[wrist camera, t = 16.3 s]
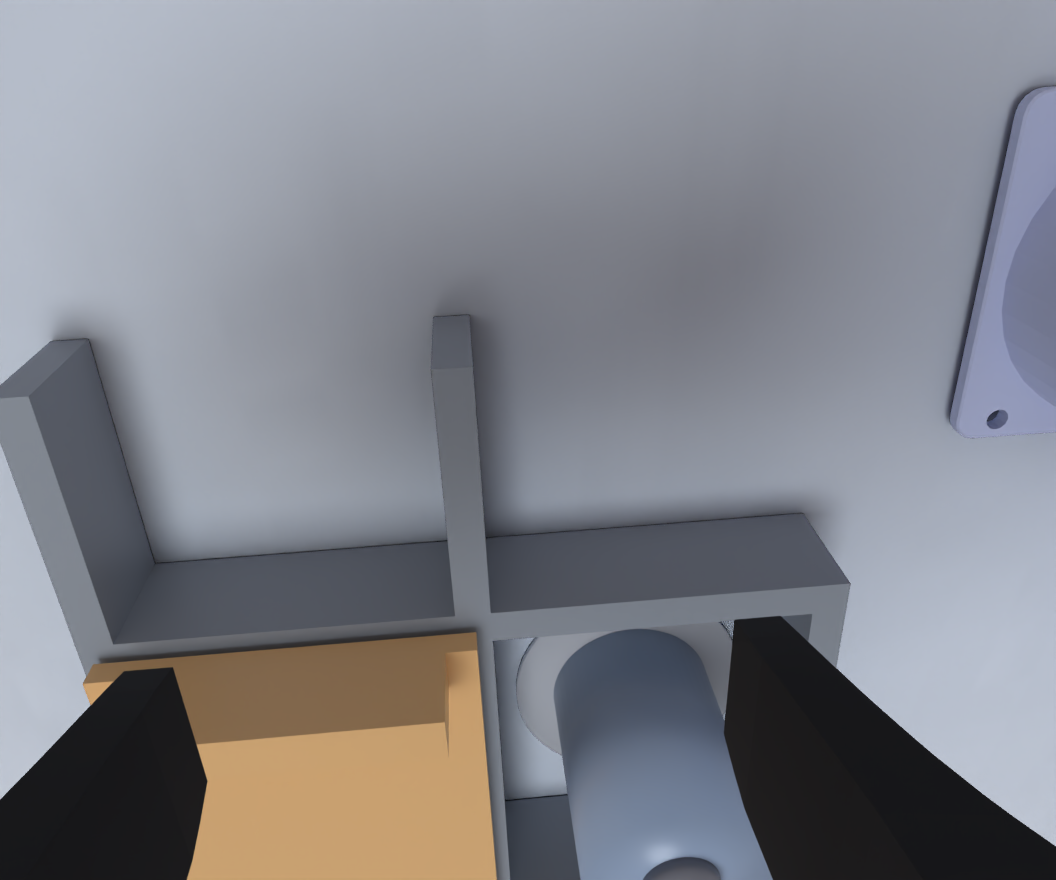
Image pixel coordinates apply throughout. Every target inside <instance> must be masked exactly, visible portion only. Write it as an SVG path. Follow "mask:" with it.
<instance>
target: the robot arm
mask: <svg viewBox="0 0 1056 880" xmlns="http://www.w3.org/2000/svg"><path fill="white" fill-rule="evenodd" d="M997 410H999V412H998V414H997V416H996V417H995V418H994V419H993V420H991V421H988V422H987V419H988V417H989V415H990V414H991V413H993V412H994V411H997ZM950 424H951V426H952V427H953V429H954V430H955V431H957V432H958V433H959V434H960V435H962V436H963V437H966V438H982V437H996V436H1009V435H1023V434H1036V433H1050V432H1056V86H1054V87H1042V88H1038V89H1034V90H1033V91H1032V92H1030V93H1029V94H1027V95H1026V96H1025V97H1024V98H1023V100H1022V101H1021V102H1020V103H1019V105H1018V108H1017V110H1016V113H1015V116H1014V121H1013V126H1012V130H1011V135H1010V140H1009V144H1008V149H1007V154H1006V158H1005V163H1004V168H1003V172H1002V177H1001V181H1000V186H999V191H998V195H997V200H996V205H995V209H994V214H993V219H992V223H991V228H990V233H989V237H988V242H987V247H986V251H985V256H984V261H983V265H982V270H981V275H980V279H979V284H978V289H977V293H976V298H975V302H974V307H973V312H972V316H971V321H970V326H969V330H968V335H967V340H966V344H965V349H964V354H963V358H962V363H961V368H960V372H959V377H958V382H957V386H956V391H955V396H954V400H953V405H952V410H951V414H950ZM724 737H725V740H726V744H727V748H728V752H729V755H730V759H731V763H732V767H733V770H734V774H735V778H736V781H737V785H738V788H739V792H740V795H741V798H742V802H743V805H744V809H745V811H746V814H747V816H748V819H749V821H750V824H751V827H752V829H753V832H754V834H755V837H756V839H757V842H758V844H759V847H760V849H761V851H762V854H763V856H764V859H765V861H766V864H767V866H768V869H769V871H770V874H771V876H772V879H773V880H1056V846H1054V845H1053V844H1051V843H1050V842H1049V841H1047V840H1046V839H1044V838H1043V837H1041V836H1040V835H1039V834H1037V833H1036V832H1034V831H1033V830H1031V829H1030V828H1029V827H1027V826H1026V825H1024V824H1023V823H1021V822H1020V821H1019V820H1017V819H1016V818H1014V817H1013V816H1012V815H1010V814H1009V813H1007V812H1006V811H1005V810H1003V809H1002V808H1001V807H999V806H998V805H997V804H995V803H994V802H993V801H991V800H990V799H989V798H987V797H986V796H985V795H983V794H982V793H981V792H979V791H978V790H977V789H976V788H974V787H973V786H972V785H971V784H969V783H968V782H967V781H966V780H964V779H963V778H962V777H961V776H959V775H958V774H957V773H956V772H954V771H953V770H952V769H951V768H949V767H948V766H947V765H945V764H944V763H943V762H942V761H940V760H939V759H938V758H937V757H936V756H934V755H933V754H932V753H931V752H930V751H928V750H927V749H926V748H925V747H924V746H922V745H921V744H920V743H919V742H918V741H916V740H915V739H914V738H913V737H912V736H911V735H910V734H909V733H907V732H906V731H905V730H904V729H903V728H902V727H901V726H899V725H898V724H897V723H896V722H895V721H894V720H893V719H891V718H890V717H889V716H888V715H887V714H886V713H885V712H883V711H882V710H881V709H880V708H879V707H878V706H877V705H876V704H874V703H873V702H872V701H871V700H870V699H869V698H868V697H867V696H866V695H865V694H863V693H862V692H861V691H860V690H859V689H858V688H857V687H856V686H855V685H854V684H853V683H852V682H850V681H849V680H848V679H847V678H846V677H845V676H844V675H843V674H842V673H841V672H840V671H839V670H838V669H837V668H835V667H834V666H833V665H832V664H831V663H830V662H829V661H828V660H827V659H826V658H825V657H824V656H823V655H822V654H821V653H820V652H819V651H818V650H816V649H815V648H814V647H813V646H812V645H811V644H810V643H809V642H808V641H807V640H806V639H805V638H804V637H803V636H802V635H801V634H800V633H799V632H797V631H796V630H795V629H794V628H793V627H792V626H791V625H790V624H789V623H788V622H787V621H786V620H785V619H783V618H782V617H781V616H771V617H759V618H747V619H735V620H734V631H733V641H732V652H731V662H730V673H729V683H728V694H727V704H726V714H725V725H724ZM207 782H208V781H207V777H206V774H205V771H204V768H203V764H202V761H201V758H200V754H199V751H198V748H197V744H196V741H195V738H194V735H193V731H192V728H191V725H190V721H189V718H188V715H187V712H186V708H185V705H184V702H183V698H182V695H181V692H180V689H179V685H178V682H177V679H176V675H175V672H174V669H173V667H168V668H156V669H144V670H132V671H124V672H123V673H122V674H121V675H120V676H119V677H118V678H117V679H116V680H115V681H114V682H113V683H112V684H111V685H110V686H109V687H108V688H107V689H106V690H105V691H104V692H103V693H102V694H101V695H100V696H99V697H98V698H97V699H96V700H95V701H94V702H93V704H92V705H91V706H90V707H89V708H88V709H87V710H86V711H85V712H84V713H83V714H82V715H81V716H80V717H79V718H78V719H77V720H76V722H75V723H74V724H73V725H72V726H71V727H70V728H69V729H68V730H67V731H66V732H65V733H64V734H63V735H62V736H61V737H60V738H59V739H58V741H57V742H56V743H55V744H54V745H53V746H52V747H51V748H50V749H49V750H48V751H47V752H46V753H45V754H44V755H43V756H42V757H41V758H40V759H39V761H38V762H37V763H36V764H35V765H34V766H33V767H32V768H31V769H30V770H29V771H28V772H27V773H26V774H25V775H24V776H23V777H22V778H21V779H20V780H19V781H18V782H17V783H16V784H15V785H14V786H13V787H12V788H11V789H10V790H9V791H8V792H7V793H6V794H5V795H4V796H3V797H2V798H1V799H0V880H187V877H188V874H189V871H190V867H191V864H192V860H193V856H194V851H195V846H196V841H197V836H198V831H199V826H200V821H201V815H202V810H203V804H204V798H205V793H206V787H207Z"/></svg>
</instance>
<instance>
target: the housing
mask: <svg viewBox="0 0 1056 880" xmlns="http://www.w3.org/2000/svg"><path fill="white" fill-rule="evenodd" d="M431 376H432V386H433V396H434V406H435V416H436V427H437V437H438V447H439V457H440V467H441V478H442V488H443V498H444V508H445V518H446V529H447V539H448V541H443V542H430V543H417V544H404V545H391V546H378V547H366V548H353V549H340V550H327V551H314V552H301V553H289V554H276V555H263V556H250V557H237V558H224V559H212V560H199V561H186V562H173V563H160V564H155V563H154V560H153V557H152V553H151V550H150V546H149V543H148V540H147V536H146V533H145V529H144V526H143V523H142V519H141V516H140V513H139V509H138V506H137V502H136V499H135V496H134V492H133V489H132V485H131V482H130V479H129V475H128V472H127V468H126V465H125V462H124V458H123V455H122V452H121V448H120V445H119V441H118V438H117V435H116V431H115V428H114V424H113V421H112V418H111V414H110V411H109V408H108V404H107V401H106V397H105V394H104V391H103V387H102V384H101V380H100V377H99V374H98V370H97V367H96V364H95V360H94V357H93V353H92V350H91V347H90V343H89V340H88V339H80V340H65V341H50V342H49V343H48V344H47V345H46V346H45V347H44V348H42V349H41V350H40V351H39V352H38V353H37V354H36V355H34V356H33V357H32V358H31V359H30V360H29V361H28V362H26V363H25V364H24V365H23V366H22V367H21V368H20V369H18V370H17V371H16V372H15V373H14V374H13V375H12V376H10V377H9V378H8V379H7V380H6V381H5V382H4V383H2V384H1V385H0V443H1V446H2V449H3V452H4V454H5V457H6V460H7V462H8V465H9V468H10V471H11V473H12V476H13V479H14V481H15V484H16V487H17V490H18V492H19V495H20V498H21V500H22V503H23V506H24V509H25V511H26V514H27V517H28V519H29V522H30V525H31V528H32V530H33V533H34V536H35V538H36V541H37V544H38V546H39V549H40V552H41V555H42V557H43V560H44V563H45V565H46V568H47V571H48V574H49V576H50V579H51V582H52V584H53V587H54V590H55V593H56V595H57V598H58V601H59V603H60V606H61V609H62V612H63V614H64V617H65V620H66V622H67V625H68V628H69V631H70V633H71V636H72V639H73V641H74V644H75V647H76V650H77V652H78V655H79V658H80V660H81V663H82V666H83V669H84V671H85V674H86V677H87V675H88V673H89V671H90V669H91V667H92V665H93V664H103V663H115V662H127V661H139V660H151V659H163V658H174V657H186V656H198V655H210V654H222V653H234V652H246V651H258V650H270V649H282V648H294V647H305V646H317V645H329V644H341V643H353V642H365V641H377V640H389V639H401V638H413V637H425V636H436V635H448V634H460V633H472V632H476V633H477V645H478V657H479V669H480V681H481V693H482V705H483V717H484V728H485V740H486V752H487V764H488V776H489V788H490V800H491V811H492V823H493V835H494V847H495V859H496V871H497V880H581V879H580V872H579V865H578V859H577V852H576V845H575V839H574V832H573V825H572V818H571V812H570V805H569V798H568V795H565V796H555V797H544V798H534V799H523V800H513V801H505V797H504V783H503V770H502V756H501V742H500V729H499V715H498V701H497V688H496V674H495V660H494V646H493V641H497V640H509V639H521V638H533V637H536V638H535V639H534V641H533V642H532V643H531V645H530V646H529V647H528V649H527V651H526V653H525V655H524V656H523V658H522V661H521V664H520V666H519V670H518V675H517V680H516V695H517V702H518V708H519V711H520V714H521V717H522V719H523V721H524V722H525V724H526V726H527V728H528V729H529V730H530V732H531V733H532V734H533V735H534V736H535V737H536V738H537V739H538V740H539V741H540V742H541V743H542V744H543V745H545V746H546V747H548V748H549V749H551V750H552V751H554V752H556V753H558V754H560V755H562V751H561V745H560V738H559V731H558V725H557V718H556V711H555V705H554V686H555V682H556V679H557V676H558V674H559V672H560V670H561V668H562V667H563V666H564V664H565V663H566V661H567V660H568V659H569V658H570V657H571V656H572V655H573V654H574V653H575V652H577V651H578V650H579V649H580V648H582V647H583V646H585V645H586V644H588V643H589V642H591V641H593V640H595V639H597V638H600V637H602V636H605V635H608V634H611V633H615V632H619V631H625V630H634V629H647V630H655V631H661V632H664V633H668V634H671V635H673V636H675V637H678V638H679V639H681V640H683V641H685V642H686V643H687V644H688V645H690V646H691V647H692V648H693V649H694V650H695V651H696V652H697V654H698V655H699V657H700V658H701V661H702V663H703V665H704V668H705V670H706V673H707V676H708V678H709V681H710V684H711V686H712V689H713V691H714V694H715V697H716V699H717V702H718V705H719V707H720V710H721V713H722V715H723V714H724V713H725V711H726V704H727V694H728V683H729V673H730V662H731V652H732V640H731V638H730V636H729V634H728V632H727V631H726V629H725V628H724V627H723V625H722V624H721V623H720V622H722V621H734V620H735V619H747V618H759V617H771V616H781V617H782V618H783V619H785V620H786V621H787V622H788V623H789V624H790V625H791V626H792V627H793V628H794V629H795V630H796V631H797V632H799V633H800V634H801V635H802V636H803V637H804V638H805V639H806V640H807V641H808V642H809V643H810V644H811V645H812V646H813V647H814V648H815V649H816V650H818V651H819V652H820V653H821V654H822V655H823V656H824V657H825V658H826V659H827V660H828V661H829V662H830V663H831V664H832V665H833V666H834V667H835V668H836V666H837V660H838V654H839V648H840V642H841V636H842V631H843V625H844V619H845V613H846V607H847V602H848V596H849V590H850V584H851V583H850V582H849V580H848V579H847V578H846V576H845V575H844V573H843V572H842V570H841V569H840V567H839V566H838V564H837V563H836V561H835V560H834V558H833V557H832V555H831V554H830V553H829V551H828V550H827V548H826V547H825V545H824V544H823V542H822V541H821V539H820V538H819V536H818V535H817V533H816V532H815V531H814V529H813V528H812V526H811V525H810V523H809V522H808V520H807V519H806V517H805V516H804V514H803V513H802V514H789V515H776V516H764V517H751V518H738V519H725V520H712V521H699V522H687V523H674V524H661V525H648V526H635V527H622V528H610V529H597V530H584V531H571V532H558V533H545V534H533V535H520V536H507V537H494V538H486V537H485V523H484V510H483V496H482V482H481V469H480V455H479V441H478V427H477V414H476V400H475V386H474V373H473V359H472V345H471V332H470V318H469V315H459V316H444V317H433V335H432V357H431Z"/></svg>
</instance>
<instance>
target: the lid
mask: <svg viewBox="0 0 1056 880" xmlns="http://www.w3.org/2000/svg"><path fill="white" fill-rule="evenodd" d="M168 667H173V669H174V672H175V675H176V679H177V682H178V685H179V689H180V692H181V695H182V698H183V702H184V705H185V708H186V712H187V715H188V718H189V721H190V725H191V728H192V731H193V735H194V738H195V741H196V744H197V748H198V751H199V754H200V758H201V761H202V764H203V768H204V771H205V774H206V777H207V781H208V782H207V787H206V793H205V798H204V804H203V810H202V815H201V821H200V826H199V831H198V836H197V841H196V846H195V851H194V856H193V860H192V864H191V867H190V871H189V874H188V877H187V880H497V871H496V859H495V847H494V835H493V823H492V811H491V800H490V788H489V776H488V764H487V752H486V740H485V728H484V717H483V705H482V693H481V681H480V669H479V657H478V645H477V633H476V632H472V633H460V634H448V635H436V636H425V637H413V638H401V639H389V640H377V641H365V642H353V643H341V644H329V645H317V646H305V647H294V648H282V649H270V650H258V651H246V652H234V653H222V654H210V655H198V656H186V657H174V658H163V659H151V660H139V661H127V662H115V663H103V664H93V665H92V667H91V669H90V671H89V673H88V675H87V677H86V679H85V680H84V682H83V686H84V689H85V691H86V694H87V697H88V699H89V702H90V705H92V704H93V702H94V701H95V700H96V699H97V698H98V697H99V696H100V695H101V694H102V693H103V692H104V691H105V690H106V689H107V688H108V687H109V686H110V685H111V684H112V683H113V682H114V681H115V680H116V679H117V678H118V677H119V676H120V675H121V674H122V673H123V672H124V671H132V670H144V669H156V668H168Z"/></svg>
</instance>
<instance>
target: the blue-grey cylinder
mask: <svg viewBox="0 0 1056 880" xmlns="http://www.w3.org/2000/svg"><path fill="white" fill-rule="evenodd" d="M554 705H555V711H556V718H557V725H558V731H559V738H560V745H561V751H562V758H563V765H564V772H565V778H566V785H567V792H568V798H569V805H570V812H571V818H572V825H573V832H574V839H575V845H576V852H577V859H578V865H579V872H580V879H581V880H773V879H772V876H771V874H770V871H769V869H768V866H767V864H766V861H765V859H764V856H763V854H762V851H761V849H760V847H759V844H758V842H757V839H756V837H755V834H754V832H753V829H752V827H751V824H750V821H749V819H748V816H747V814H746V811H745V809H744V805H743V802H742V798H741V795H740V792H739V788H738V785H737V781H736V778H735V774H734V770H733V767H732V763H731V759H730V755H729V752H728V748H727V744H726V740H725V737H724V725H725V721H724V718H723V715H722V713H721V710H720V707H719V705H718V702H717V699H716V697H715V694H714V691H713V689H712V686H711V684H710V681H709V678H708V676H707V673H706V670H705V668H704V665H703V663H702V661H701V658H700V657H699V655H698V654H697V652H696V651H695V650H694V649H693V648H692V647H691V646H690V645H688V644H687V643H686V642H685V641H683V640H681V639H679V638H678V637H675V636H673V635H671V634H668V633H664V632H661V631H655V630H647V629H634V630H625V631H619V632H615V633H611V634H608V635H605V636H602V637H600V638H597V639H595V640H593V641H591V642H589V643H588V644H586V645H585V646H583V647H582V648H580V649H579V650H578V651H577V652H575V653H574V654H573V655H572V656H571V657H570V658H569V659H568V660H567V661H566V663H565V664H564V666H563V667H562V668H561V670H560V672H559V674H558V676H557V679H556V682H555V686H554Z"/></svg>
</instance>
